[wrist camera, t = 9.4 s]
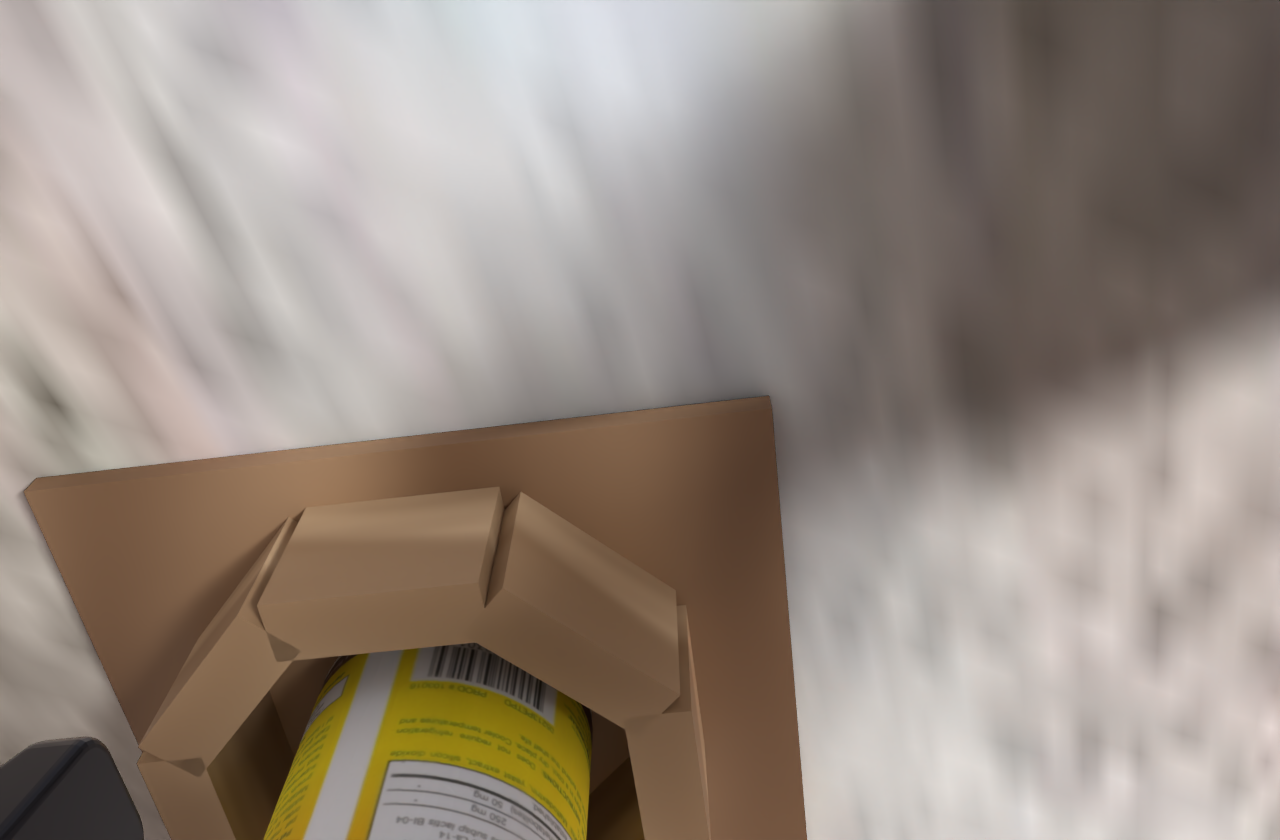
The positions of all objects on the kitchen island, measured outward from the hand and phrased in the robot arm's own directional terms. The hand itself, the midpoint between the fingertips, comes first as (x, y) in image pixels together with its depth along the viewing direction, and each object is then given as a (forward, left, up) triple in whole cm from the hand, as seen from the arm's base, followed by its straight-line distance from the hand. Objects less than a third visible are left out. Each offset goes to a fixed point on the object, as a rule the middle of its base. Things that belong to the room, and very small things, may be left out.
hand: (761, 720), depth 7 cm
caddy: (+6, +10, -12) cm, 17 cm away
